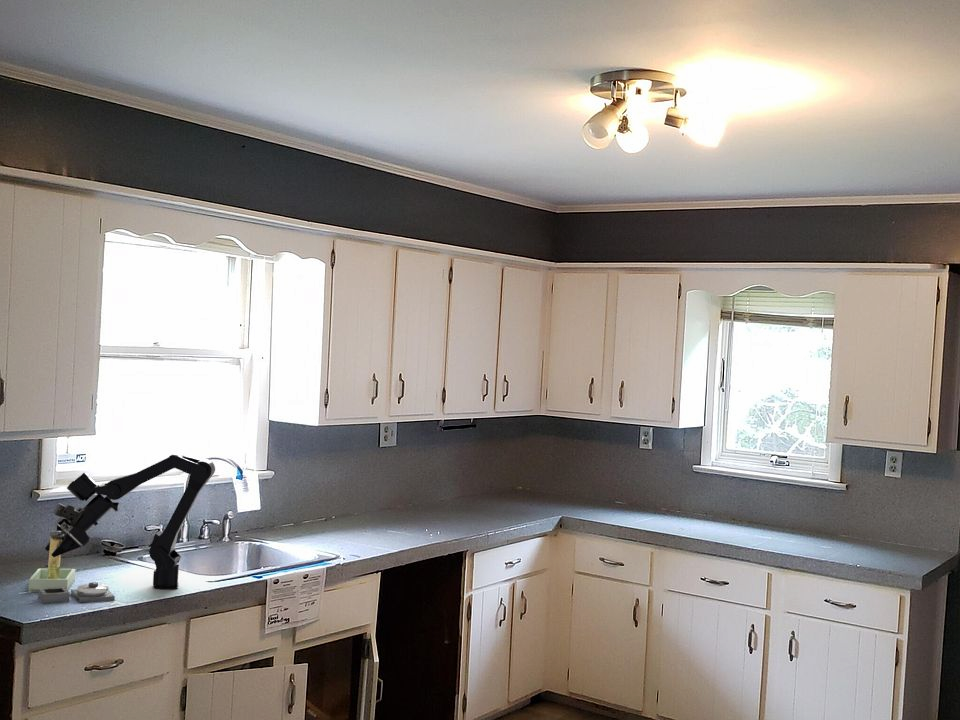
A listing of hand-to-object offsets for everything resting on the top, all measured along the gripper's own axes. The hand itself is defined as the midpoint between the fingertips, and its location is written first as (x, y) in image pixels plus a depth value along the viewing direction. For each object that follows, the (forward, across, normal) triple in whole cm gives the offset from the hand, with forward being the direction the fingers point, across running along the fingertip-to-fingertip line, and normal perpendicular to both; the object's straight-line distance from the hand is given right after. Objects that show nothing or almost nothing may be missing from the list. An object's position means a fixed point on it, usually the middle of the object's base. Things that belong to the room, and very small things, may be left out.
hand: (49, 552), depth 280 cm
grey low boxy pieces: (+4, +16, +10) cm, 19 cm away
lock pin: (+5, 0, +7) cm, 9 cm away
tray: (+6, 0, +8) cm, 10 cm away
